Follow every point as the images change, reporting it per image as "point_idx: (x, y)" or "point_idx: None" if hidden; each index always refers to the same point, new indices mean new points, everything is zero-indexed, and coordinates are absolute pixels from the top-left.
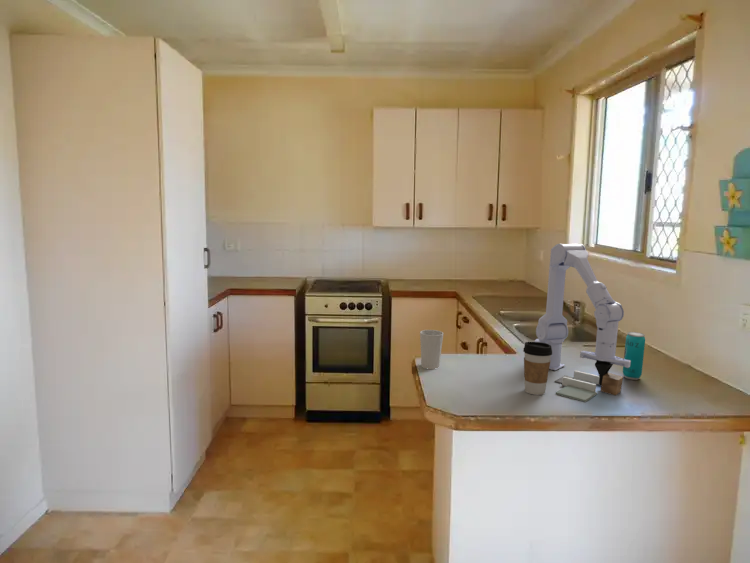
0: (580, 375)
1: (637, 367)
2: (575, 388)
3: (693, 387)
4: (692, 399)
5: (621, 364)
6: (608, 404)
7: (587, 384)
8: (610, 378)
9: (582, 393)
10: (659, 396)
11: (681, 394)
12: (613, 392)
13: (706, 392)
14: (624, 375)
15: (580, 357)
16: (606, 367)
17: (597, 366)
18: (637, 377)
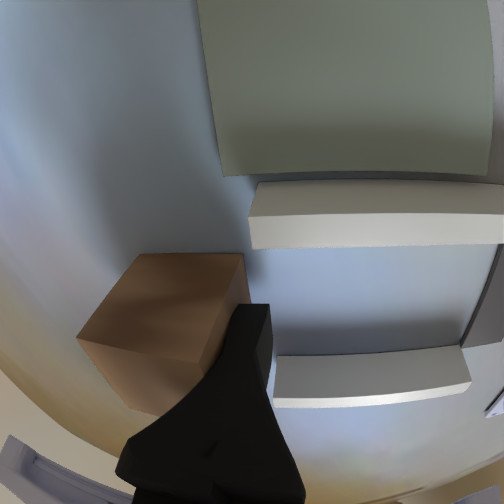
0: (432, 371)
1: None
2: (417, 127)
3: (110, 435)
4: (39, 371)
5: (54, 474)
6: (65, 46)
7: (333, 206)
8: (132, 345)
9: (302, 32)
10: (70, 355)
11: (74, 393)
12: (146, 264)
13: (76, 418)
14: None
15: (494, 488)
16: (127, 448)
17: (255, 458)
18: None
